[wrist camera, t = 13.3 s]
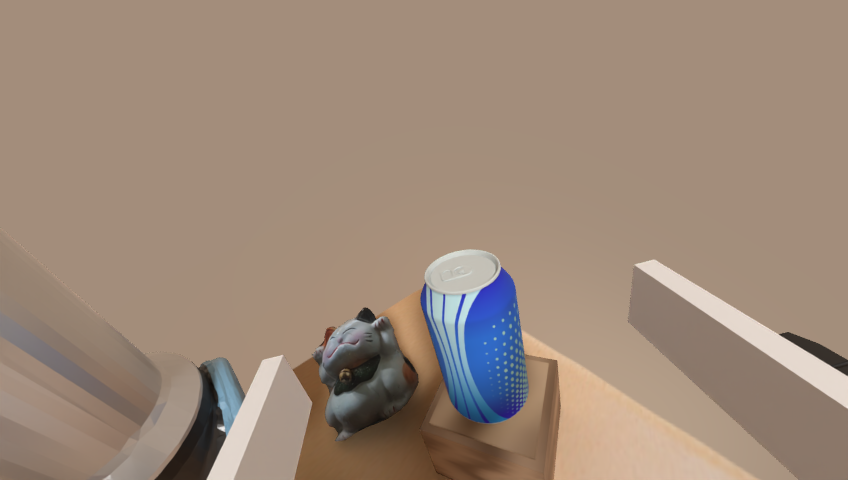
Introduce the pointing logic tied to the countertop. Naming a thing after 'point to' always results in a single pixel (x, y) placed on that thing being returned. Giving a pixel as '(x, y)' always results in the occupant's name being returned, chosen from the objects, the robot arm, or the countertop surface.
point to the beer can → (476, 334)
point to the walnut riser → (498, 434)
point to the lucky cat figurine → (363, 373)
